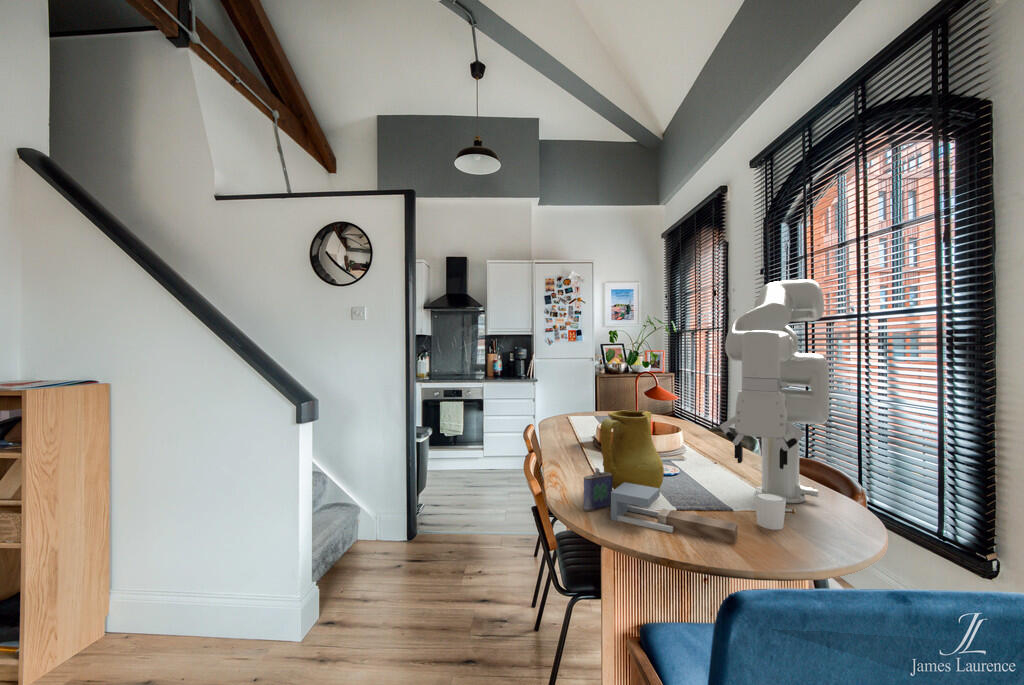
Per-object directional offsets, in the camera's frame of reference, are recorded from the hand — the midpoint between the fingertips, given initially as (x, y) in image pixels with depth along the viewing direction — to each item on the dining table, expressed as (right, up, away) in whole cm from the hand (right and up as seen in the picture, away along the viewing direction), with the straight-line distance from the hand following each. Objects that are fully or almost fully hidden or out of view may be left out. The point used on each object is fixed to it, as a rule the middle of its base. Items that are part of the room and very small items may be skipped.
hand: (760, 464), depth 100 cm
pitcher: (-20, -18, +32) cm, 43 cm away
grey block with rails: (-21, -18, +14) cm, 31 cm away
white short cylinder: (+9, -18, +11) cm, 23 cm away
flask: (-32, -18, +22) cm, 43 cm away
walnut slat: (-11, -18, +7) cm, 23 cm away
